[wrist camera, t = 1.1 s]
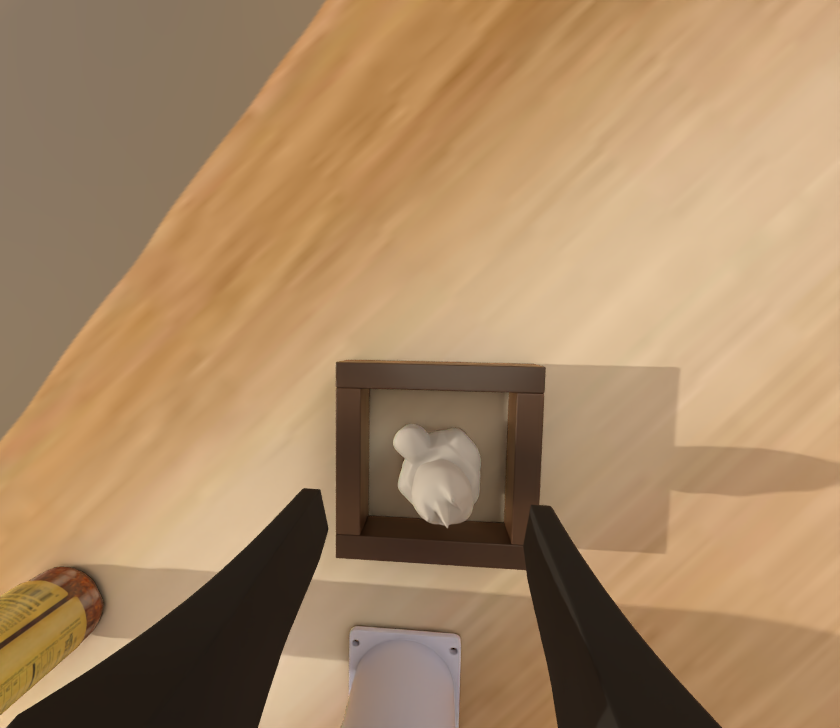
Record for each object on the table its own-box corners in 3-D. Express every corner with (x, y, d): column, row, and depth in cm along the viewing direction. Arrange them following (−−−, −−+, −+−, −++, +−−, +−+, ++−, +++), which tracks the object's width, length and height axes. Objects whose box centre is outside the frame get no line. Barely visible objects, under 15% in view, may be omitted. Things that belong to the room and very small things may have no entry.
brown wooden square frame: (526, 546, 23) (536, 571, 20) (346, 535, 24) (335, 558, 21) (534, 364, 22) (546, 366, 19) (347, 359, 23) (335, 362, 20)
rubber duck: (440, 512, 23) (438, 603, 15) (376, 443, 23) (341, 497, 15) (498, 462, 22) (529, 529, 14) (433, 392, 22) (427, 420, 14)
